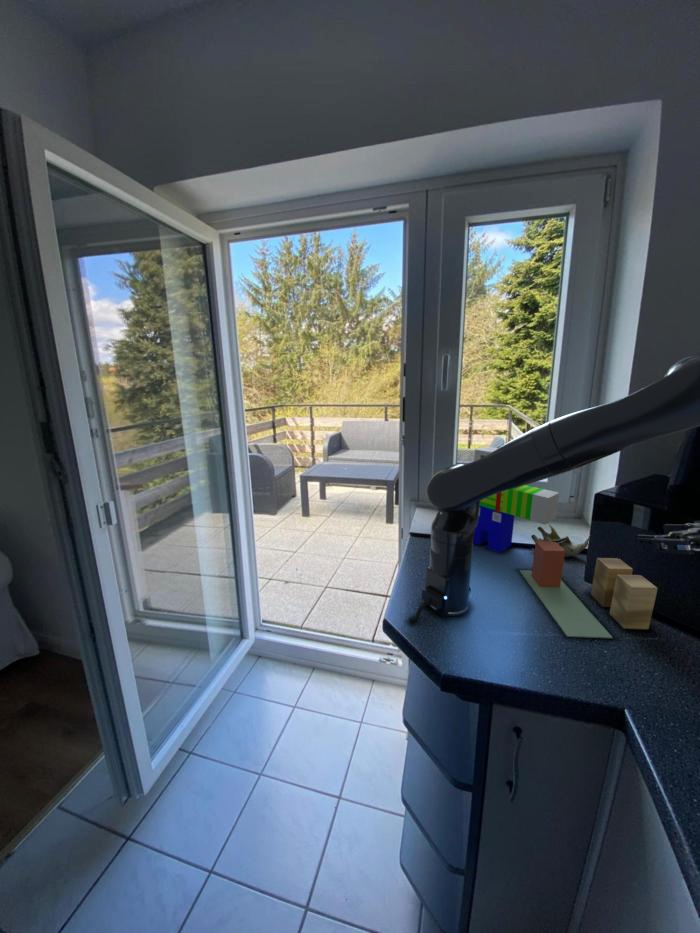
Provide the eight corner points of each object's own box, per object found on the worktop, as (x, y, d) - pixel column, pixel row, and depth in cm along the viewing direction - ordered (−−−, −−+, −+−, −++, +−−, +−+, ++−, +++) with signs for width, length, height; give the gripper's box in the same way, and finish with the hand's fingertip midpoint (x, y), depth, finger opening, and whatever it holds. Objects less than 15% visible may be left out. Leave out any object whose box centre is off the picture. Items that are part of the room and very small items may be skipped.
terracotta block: (560, 587, 93) (565, 550, 91) (539, 586, 93) (544, 550, 91) (550, 576, 98) (555, 541, 96) (531, 576, 98) (535, 541, 96)
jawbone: (596, 553, 100) (576, 519, 102) (541, 568, 110) (524, 537, 111) (600, 543, 107) (581, 511, 109) (548, 557, 117) (532, 528, 118)
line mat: (612, 638, 76) (612, 637, 76) (566, 636, 76) (566, 635, 76) (553, 572, 101) (553, 571, 101) (519, 571, 101) (519, 570, 101)
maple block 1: (625, 608, 85) (633, 569, 83) (602, 607, 86) (609, 568, 83) (611, 595, 90) (618, 558, 88) (590, 595, 90) (596, 557, 88)
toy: (438, 529, 128) (443, 444, 121) (450, 524, 132) (455, 441, 125) (539, 568, 103) (553, 462, 95) (550, 560, 107) (564, 458, 100)
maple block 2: (648, 630, 78) (657, 588, 76) (623, 629, 78) (632, 587, 76) (632, 615, 83) (640, 575, 80) (609, 614, 83) (616, 574, 81)
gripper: (773, 507, 64) (668, 508, 80) (724, 528, 60) (622, 525, 75) (785, 550, 64) (677, 543, 79) (737, 574, 59) (632, 562, 75)
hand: (651, 534), depth 77 cm, fingers open, 8 cm apart
